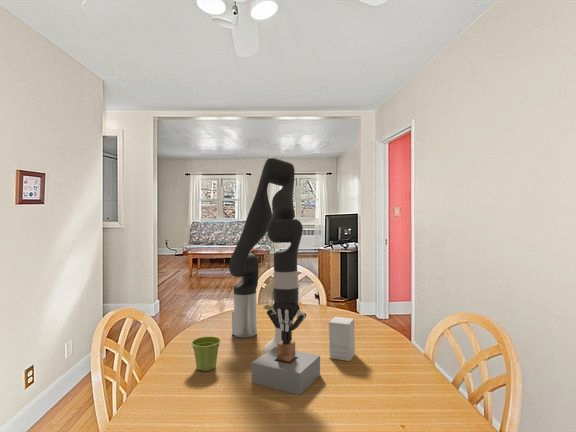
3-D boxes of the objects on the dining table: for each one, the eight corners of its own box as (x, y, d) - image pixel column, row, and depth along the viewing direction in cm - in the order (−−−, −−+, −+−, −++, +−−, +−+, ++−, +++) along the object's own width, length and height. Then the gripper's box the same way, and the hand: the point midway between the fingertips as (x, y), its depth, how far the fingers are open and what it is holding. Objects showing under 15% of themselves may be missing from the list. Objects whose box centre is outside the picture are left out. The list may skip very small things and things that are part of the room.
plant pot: (189, 364, 121) (189, 338, 121) (217, 359, 125) (217, 334, 125) (193, 376, 113) (193, 348, 112) (224, 370, 116) (223, 343, 116)
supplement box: (355, 353, 129) (355, 318, 129) (349, 361, 122) (349, 324, 122) (335, 350, 132) (335, 316, 132) (328, 358, 125) (328, 321, 125)
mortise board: (251, 382, 108) (251, 362, 108) (275, 364, 120) (275, 346, 120) (299, 395, 100) (299, 373, 100) (320, 374, 113) (320, 355, 113)
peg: (277, 377, 109) (276, 343, 109) (283, 371, 113) (283, 339, 113) (289, 379, 107) (289, 346, 107) (295, 374, 111) (295, 341, 111)
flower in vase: (301, 354, 129) (301, 283, 129) (279, 364, 121) (278, 289, 120) (275, 345, 138) (274, 279, 137) (252, 354, 129) (252, 283, 129)
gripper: (311, 285, 110) (311, 342, 110) (273, 281, 116) (274, 335, 117) (299, 289, 103) (300, 350, 104) (260, 285, 110) (261, 343, 110)
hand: (286, 342), depth 110 cm, fingers closed
